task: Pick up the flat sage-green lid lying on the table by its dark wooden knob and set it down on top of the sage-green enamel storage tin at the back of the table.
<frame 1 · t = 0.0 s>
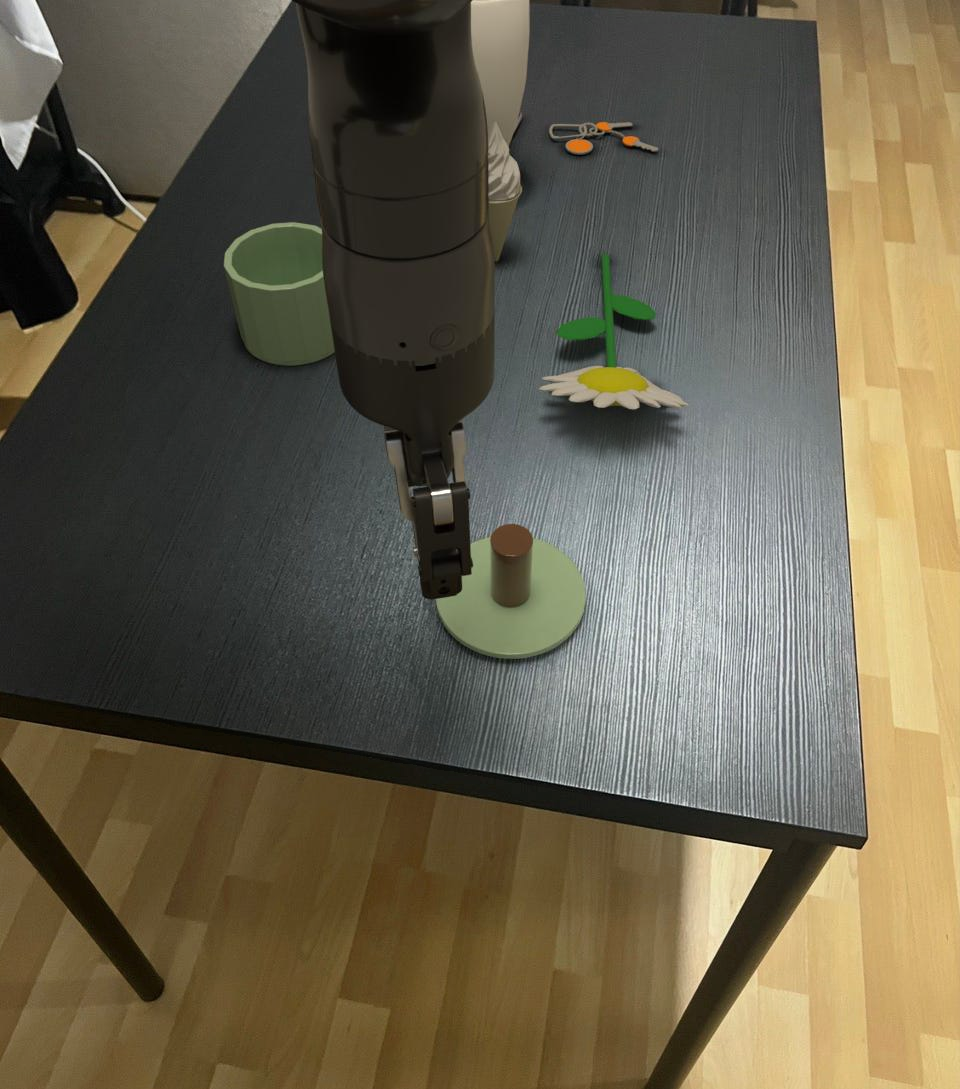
hand: (429, 534, 57), 17 cm above the table, tool pointing down, fingers open, 8 cm apart
ice cream cone: (495, 261, 103), on the table
cream vase: (480, 186, 112), on the table, touching smartphone
lid: (510, 596, 75), point 1 cm above the table
key chain: (602, 141, 119), on the table
tin: (296, 330, 96), on the table
smartphone: (478, 146, 118), on the table, touching cream vase
decorative flower: (607, 353, 94), on the table
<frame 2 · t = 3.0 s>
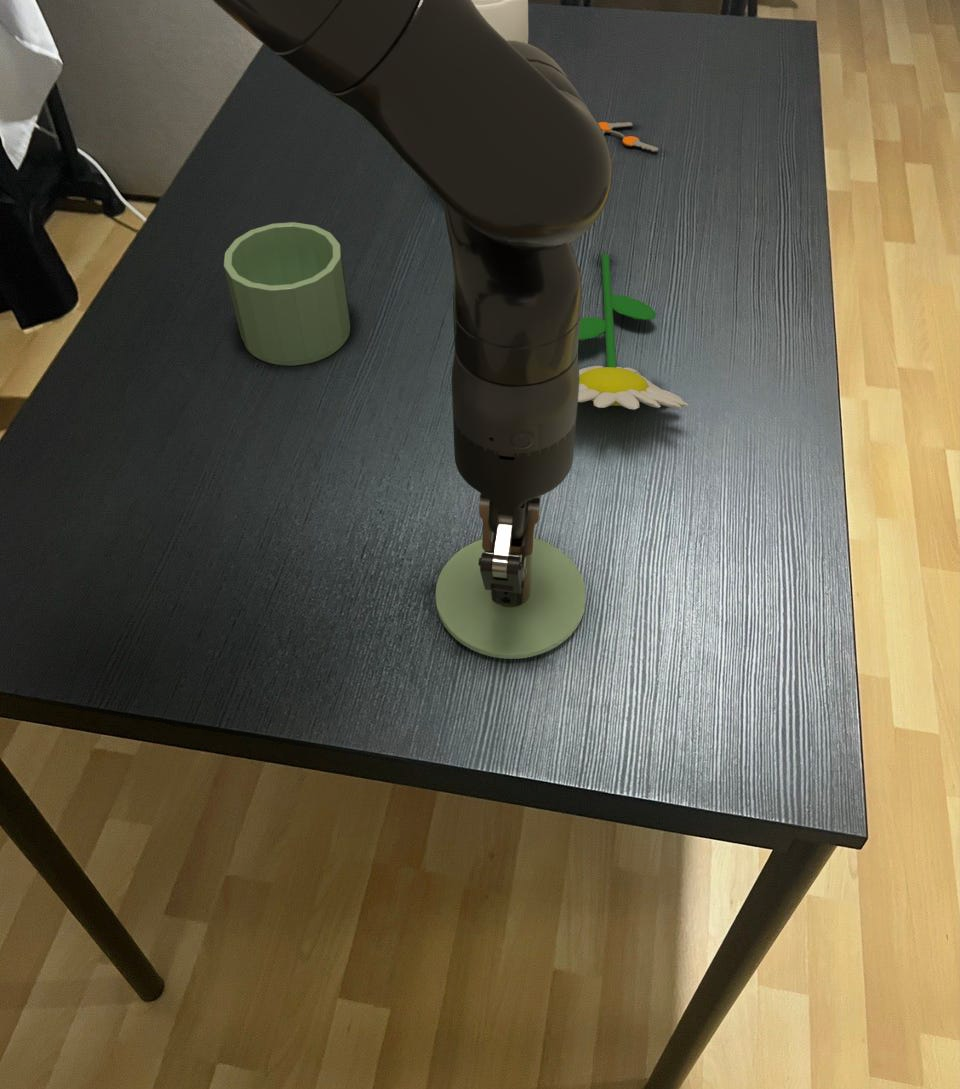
hand: (510, 580, 73), 3 cm above the table, tool pointing down, fingers closed on lid, 3 cm apart
cream vase: (480, 187, 112), on the table, touching smartphone
lid: (510, 596, 75), point 1 cm above the table, touching gripper
everything else where it was.
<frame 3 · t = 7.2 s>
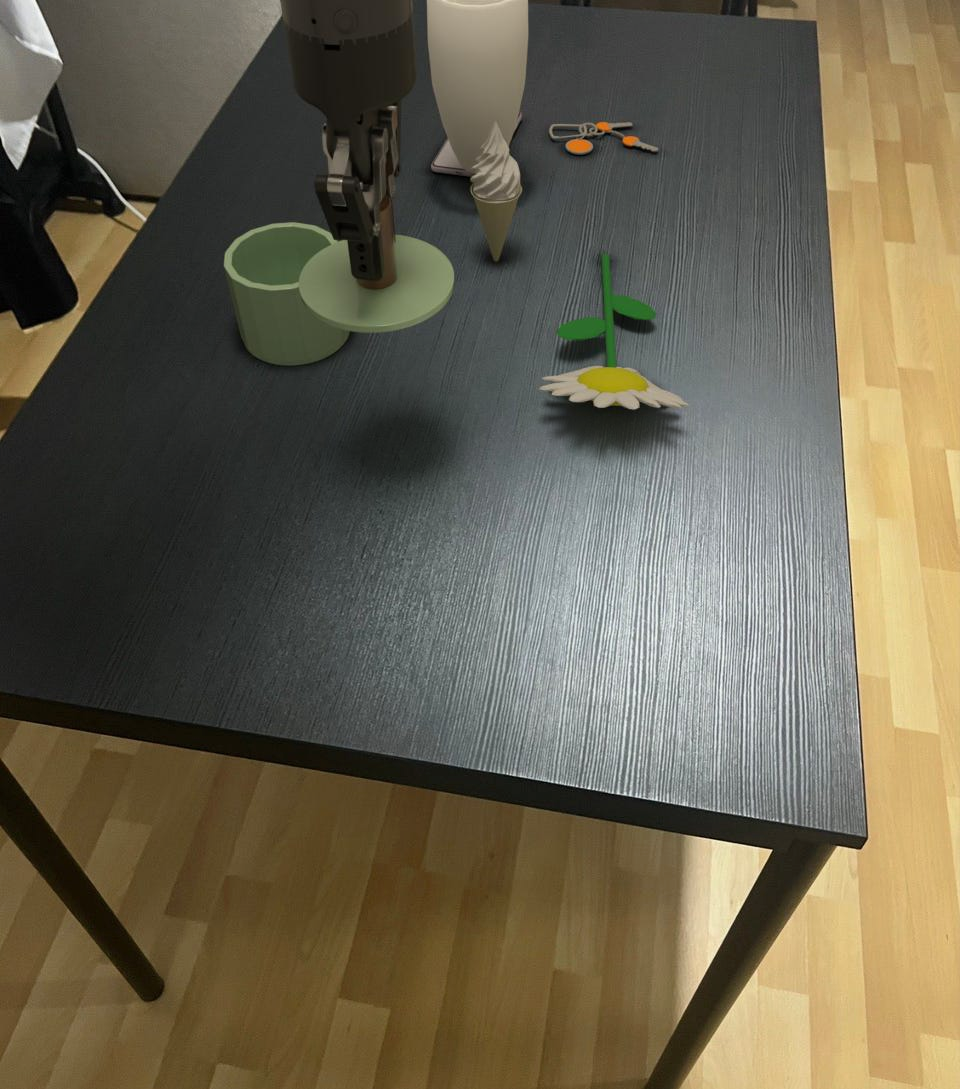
hand: (374, 261, 71), 19 cm above the table, tool pointing down, fingers closed on lid, 3 cm apart
lid: (377, 284, 72), point 17 cm above the table, touching gripper
everything else where it was.
when the fingers open (10 cm above the table, at t = 11.2 s): lid stays where it is, resting on tin.
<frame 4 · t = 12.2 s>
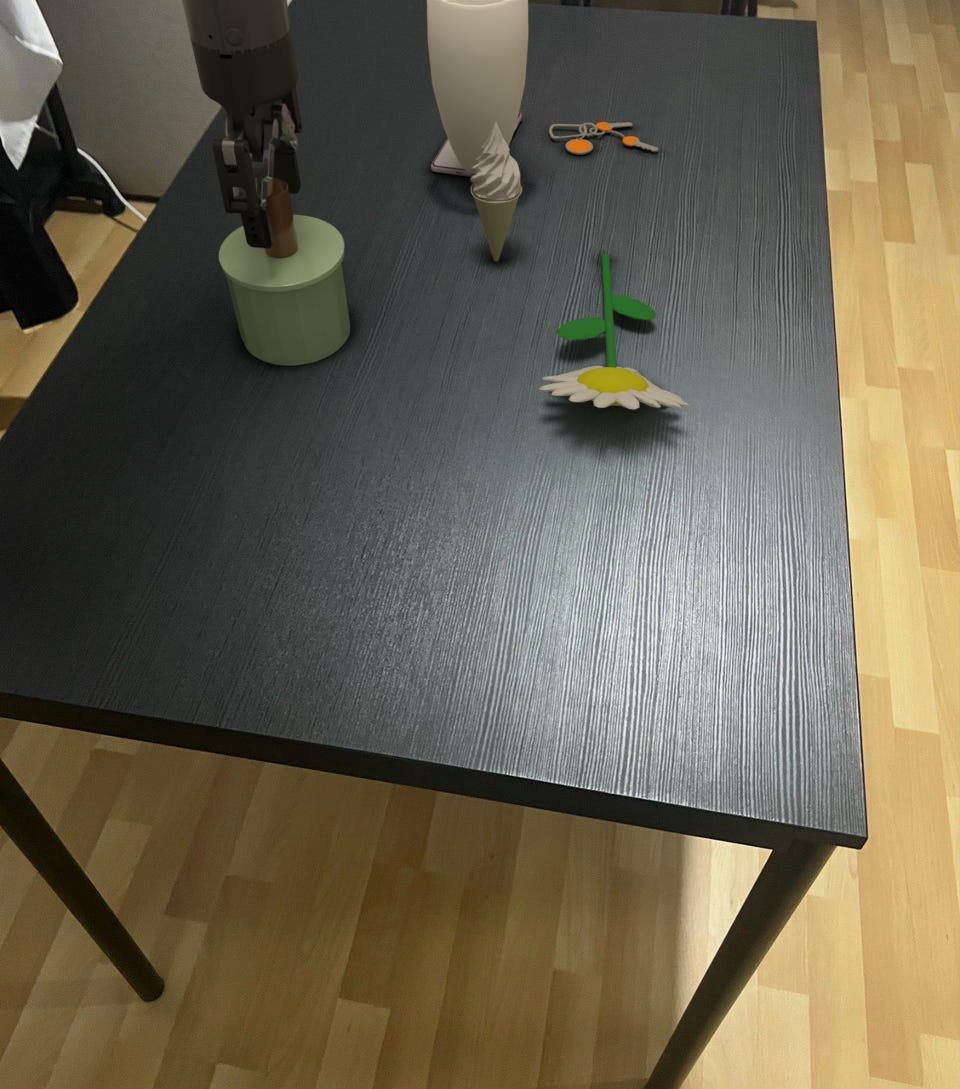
hand: (275, 217, 87), 12 cm above the table, tool pointing down, fingers open, 8 cm apart
lid: (282, 254, 90), point 8 cm above the table, touching tin
everything else where it was.
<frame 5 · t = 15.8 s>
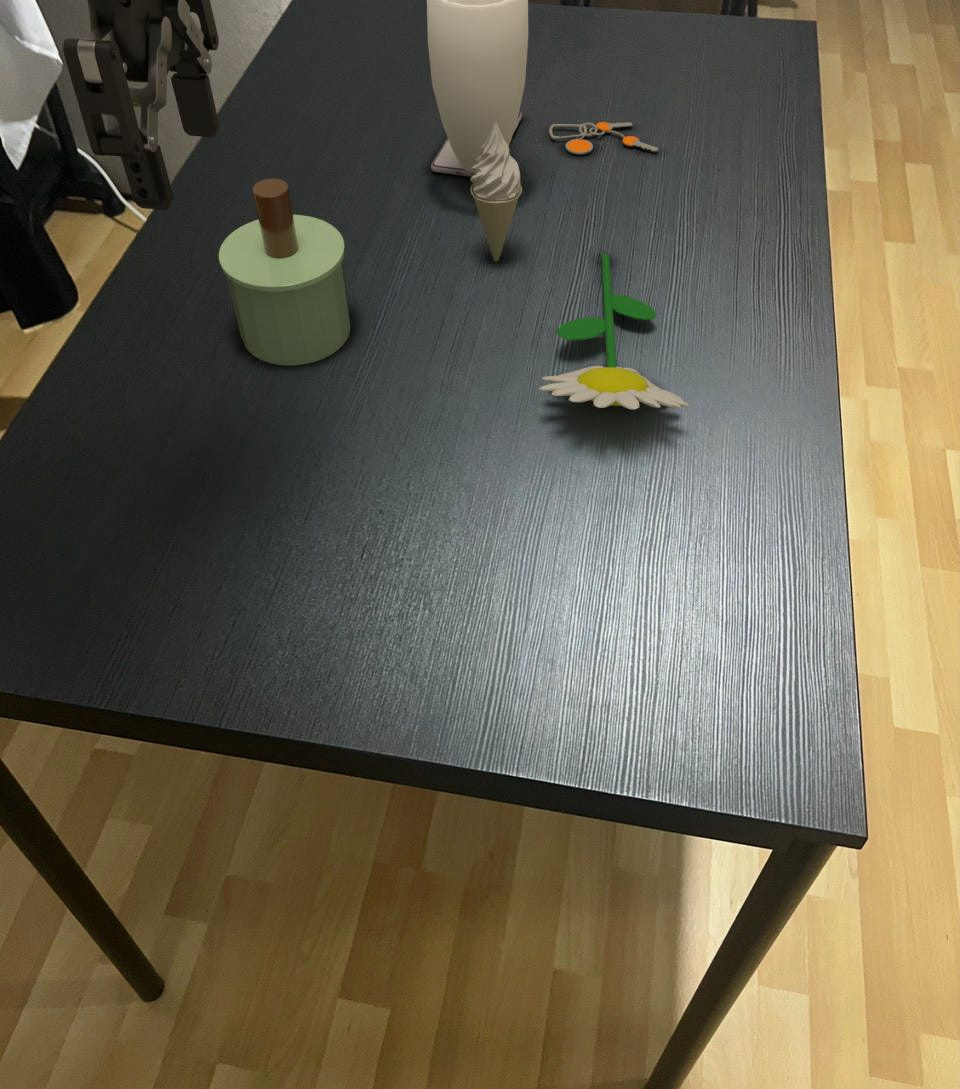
hand: (180, 168, 62), 28 cm above the table, tool pointing down, fingers open, 8 cm apart
nothing on the table moved.
at the end: lid 0.0 cm off-centre on the tin, point 8.5 cm above the tin's base; lid tilted 0°; the gripper is holding nothing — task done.
